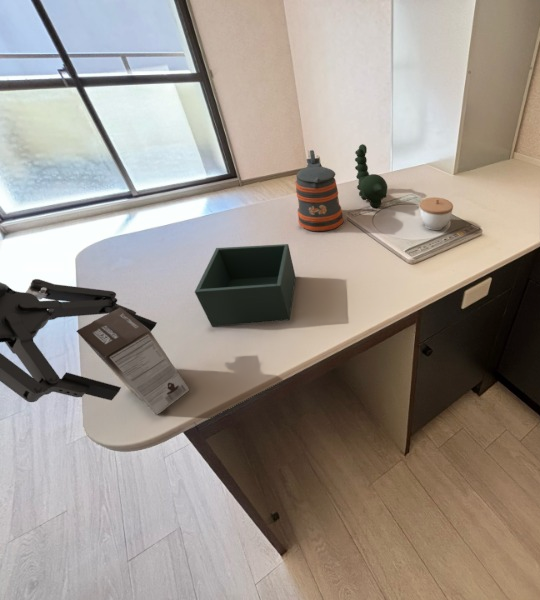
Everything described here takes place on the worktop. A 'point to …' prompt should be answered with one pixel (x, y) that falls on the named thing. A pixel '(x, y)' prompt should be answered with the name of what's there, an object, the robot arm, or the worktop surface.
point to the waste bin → (247, 285)
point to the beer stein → (318, 197)
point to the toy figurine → (369, 180)
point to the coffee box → (135, 358)
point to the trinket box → (435, 212)
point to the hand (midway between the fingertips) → (136, 358)
